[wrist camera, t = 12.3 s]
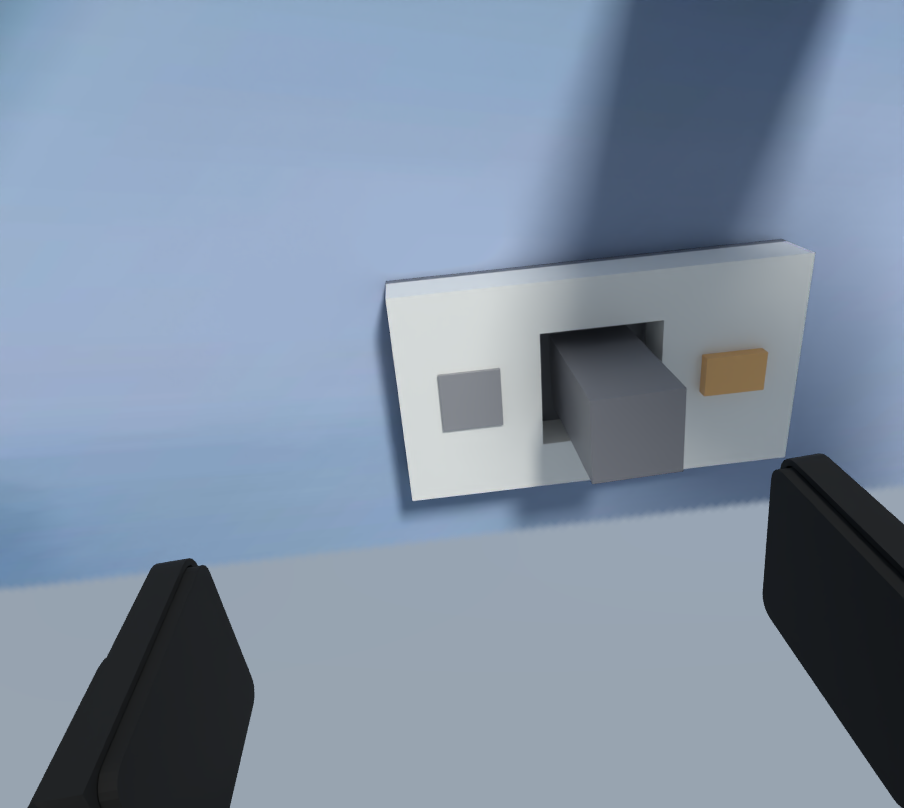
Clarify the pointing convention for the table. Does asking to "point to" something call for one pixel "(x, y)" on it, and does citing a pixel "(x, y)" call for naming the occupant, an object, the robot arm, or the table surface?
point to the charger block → (617, 404)
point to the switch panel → (583, 308)
